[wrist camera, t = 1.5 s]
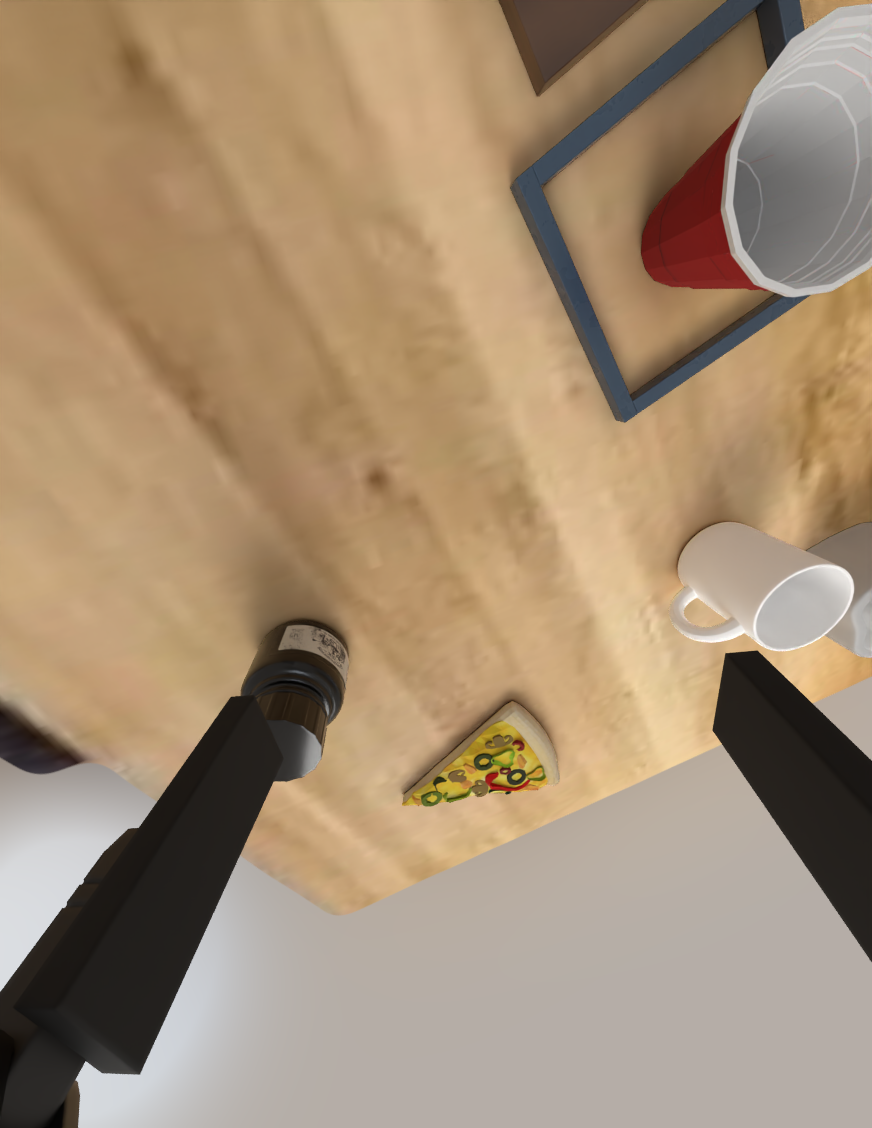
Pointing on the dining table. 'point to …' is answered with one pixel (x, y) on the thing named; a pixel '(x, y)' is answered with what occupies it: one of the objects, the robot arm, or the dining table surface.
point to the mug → (759, 588)
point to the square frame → (777, 27)
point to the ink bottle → (299, 690)
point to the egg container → (868, 560)
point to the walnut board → (561, 32)
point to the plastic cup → (781, 177)
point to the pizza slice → (492, 761)
